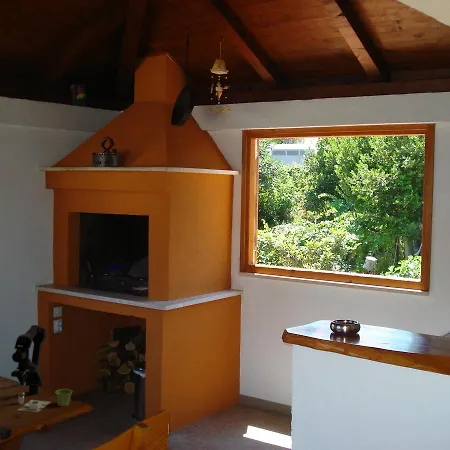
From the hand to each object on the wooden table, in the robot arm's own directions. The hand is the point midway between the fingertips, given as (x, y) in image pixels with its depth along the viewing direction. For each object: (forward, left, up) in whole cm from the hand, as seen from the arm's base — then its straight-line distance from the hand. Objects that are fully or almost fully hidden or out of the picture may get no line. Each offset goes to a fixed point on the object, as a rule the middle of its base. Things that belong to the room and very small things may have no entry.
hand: (22, 385), depth 349 cm
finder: (+6, +11, -10) cm, 16 cm away
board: (+2, +9, -12) cm, 15 cm away
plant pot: (-5, +23, -12) cm, 26 cm away
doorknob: (0, 0, -12) cm, 12 cm away
